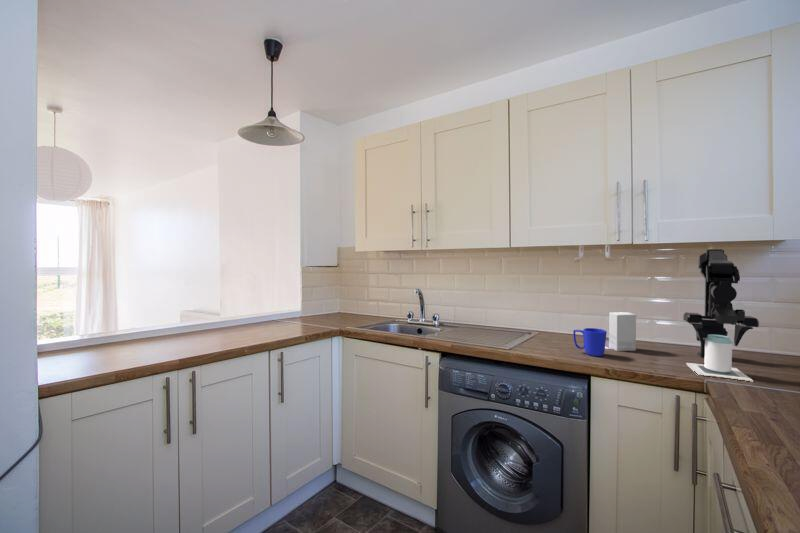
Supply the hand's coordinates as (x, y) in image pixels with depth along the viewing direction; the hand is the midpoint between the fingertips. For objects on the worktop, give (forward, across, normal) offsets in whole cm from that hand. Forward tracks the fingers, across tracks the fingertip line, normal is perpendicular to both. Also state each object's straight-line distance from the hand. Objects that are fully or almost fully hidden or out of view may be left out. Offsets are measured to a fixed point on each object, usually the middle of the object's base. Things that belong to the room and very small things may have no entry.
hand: (718, 344), depth 124 cm
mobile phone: (+10, -30, +27) cm, 41 cm away
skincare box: (+10, -26, +21) cm, 35 cm away
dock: (+10, 0, 0) cm, 10 cm away
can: (+9, 0, 0) cm, 9 cm away
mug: (+10, -39, +7) cm, 41 cm away
